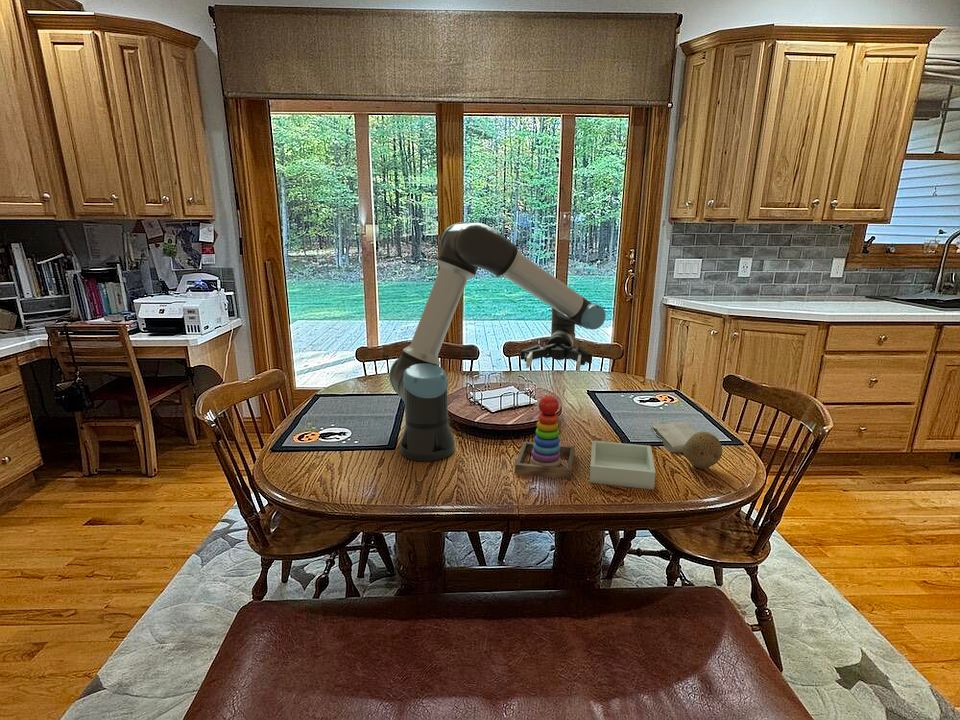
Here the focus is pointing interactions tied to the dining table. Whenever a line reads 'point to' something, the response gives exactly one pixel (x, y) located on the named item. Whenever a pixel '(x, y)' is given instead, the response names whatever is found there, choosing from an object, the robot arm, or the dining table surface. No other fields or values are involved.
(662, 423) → the washcloth
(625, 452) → the sage tray
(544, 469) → the walnut holder
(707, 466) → the natural sponge
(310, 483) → the dining table surface
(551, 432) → the stacking toy
